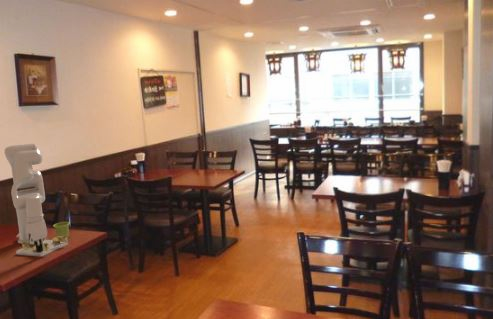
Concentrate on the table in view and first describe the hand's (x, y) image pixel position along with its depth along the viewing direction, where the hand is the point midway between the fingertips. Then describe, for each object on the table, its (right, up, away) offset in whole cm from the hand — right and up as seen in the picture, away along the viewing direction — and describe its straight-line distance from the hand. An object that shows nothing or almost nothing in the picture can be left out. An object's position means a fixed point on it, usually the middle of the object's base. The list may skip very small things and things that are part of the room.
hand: (39, 251), depth 237 cm
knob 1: (-1, 0, +5) cm, 5 cm away
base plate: (-5, -2, +14) cm, 15 cm away
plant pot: (-1, +1, +34) cm, 34 cm away
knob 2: (+4, +2, +17) cm, 18 cm away
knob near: (-12, +1, +13) cm, 17 cm away
